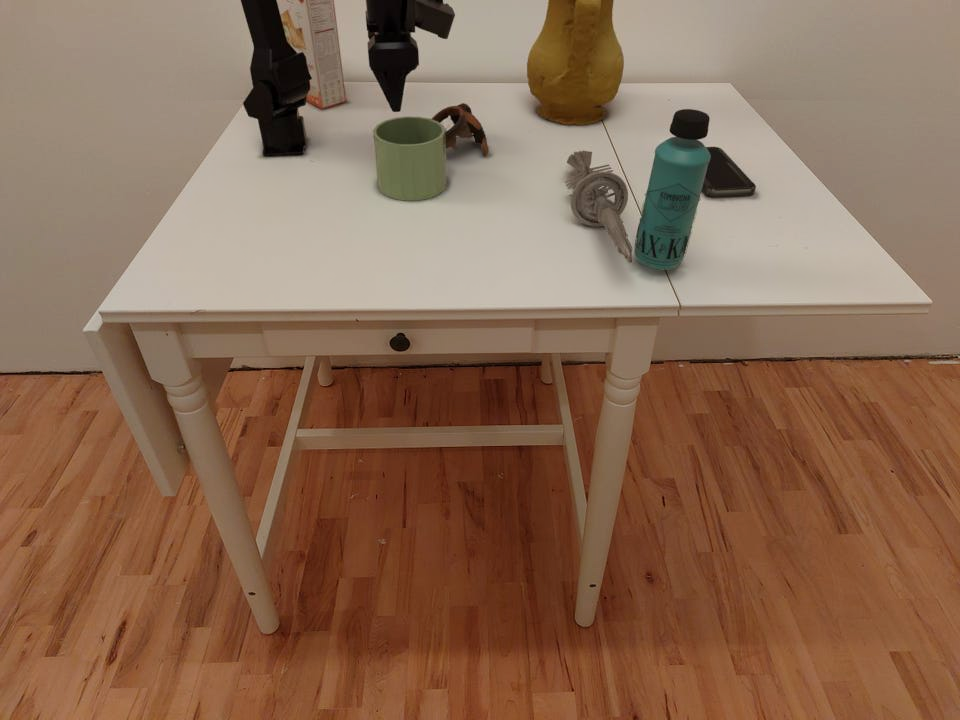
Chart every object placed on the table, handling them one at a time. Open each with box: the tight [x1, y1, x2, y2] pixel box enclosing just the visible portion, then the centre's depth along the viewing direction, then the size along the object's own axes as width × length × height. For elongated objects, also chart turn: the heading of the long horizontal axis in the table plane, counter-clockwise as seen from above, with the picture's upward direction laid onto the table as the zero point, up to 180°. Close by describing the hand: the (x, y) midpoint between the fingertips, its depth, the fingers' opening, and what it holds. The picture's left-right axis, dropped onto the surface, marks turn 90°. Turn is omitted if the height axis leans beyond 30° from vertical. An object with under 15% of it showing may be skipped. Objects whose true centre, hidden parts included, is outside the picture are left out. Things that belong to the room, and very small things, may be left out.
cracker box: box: [277, 0, 347, 110], centre depth 122 cm, size 14×6×21 cm, turn 43°
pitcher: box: [526, 0, 625, 126], centre depth 116 cm, size 17×19×25 cm
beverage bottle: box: [633, 108, 711, 270], centre depth 80 cm, size 6×7×20 cm
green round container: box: [372, 116, 448, 202], centre depth 99 cm, size 10×10×8 cm
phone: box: [701, 146, 757, 198], centre depth 106 cm, size 8×1×15 cm
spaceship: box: [564, 150, 633, 264], centre depth 91 cm, size 8×35×8 cm
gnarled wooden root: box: [431, 102, 489, 157], centre depth 110 cm, size 12×10×8 cm
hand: (394, 99), depth 94 cm, fingers open, 9 cm apart
